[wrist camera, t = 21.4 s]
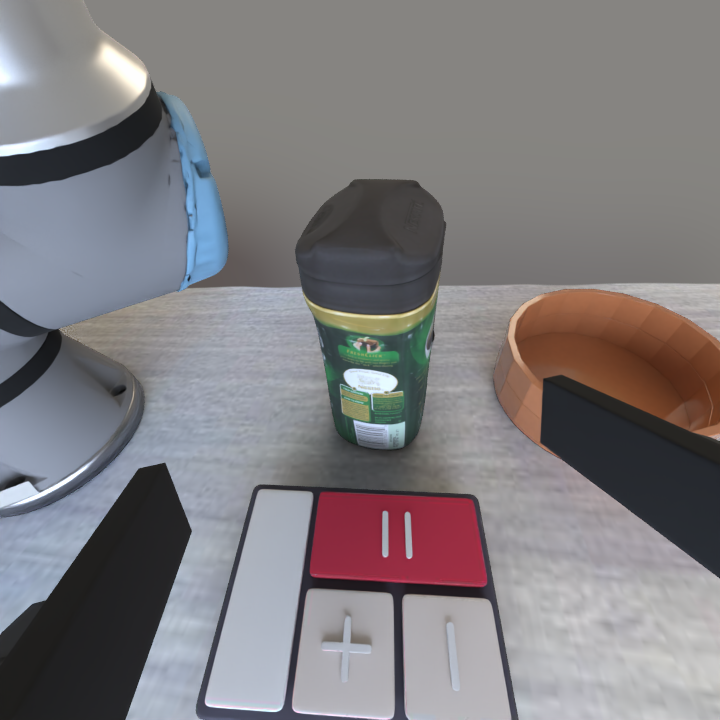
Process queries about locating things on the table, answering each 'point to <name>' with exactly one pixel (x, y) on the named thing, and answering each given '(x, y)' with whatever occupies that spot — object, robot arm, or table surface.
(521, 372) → the pot
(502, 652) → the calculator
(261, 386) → the table surface
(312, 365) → the table surface
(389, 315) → the coffee jar
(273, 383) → the table surface
